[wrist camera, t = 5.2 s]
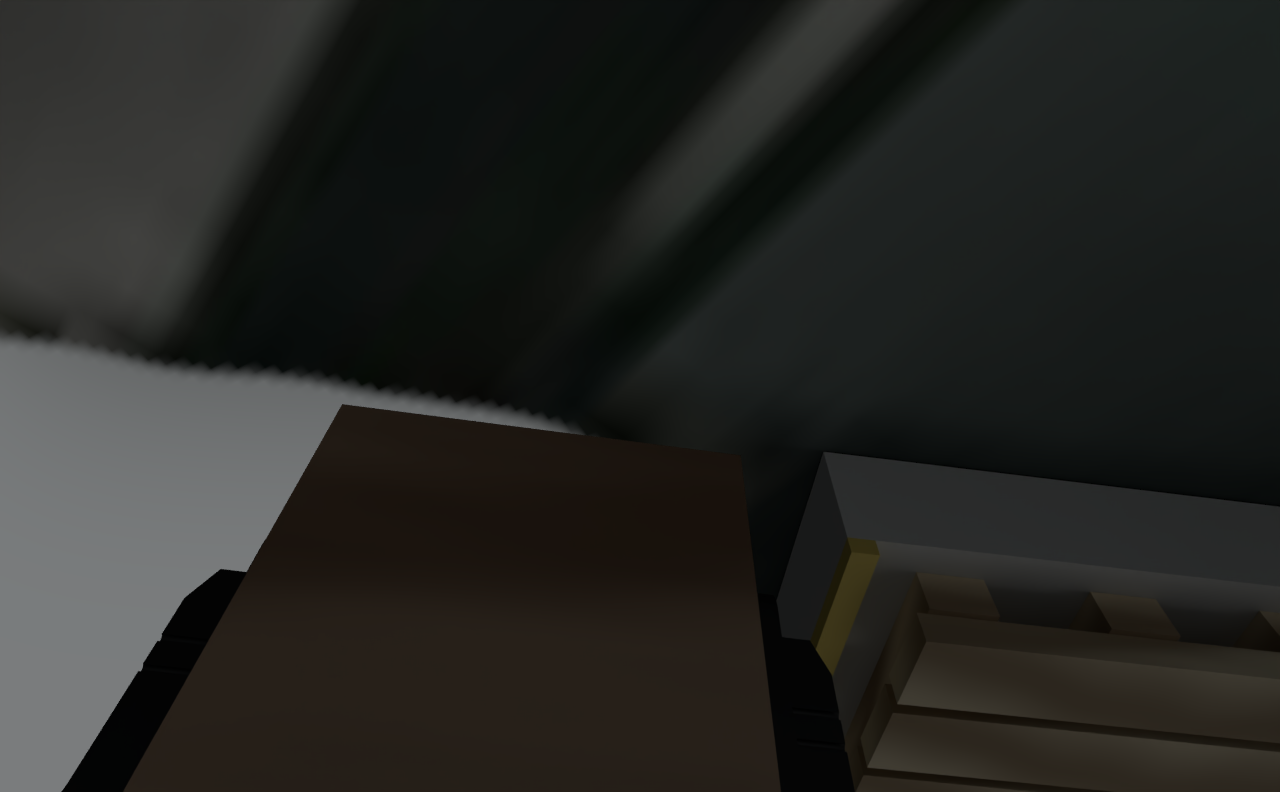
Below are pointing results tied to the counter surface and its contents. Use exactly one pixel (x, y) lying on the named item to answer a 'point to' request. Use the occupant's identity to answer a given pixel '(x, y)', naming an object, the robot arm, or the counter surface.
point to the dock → (1013, 555)
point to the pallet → (1064, 701)
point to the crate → (485, 624)
